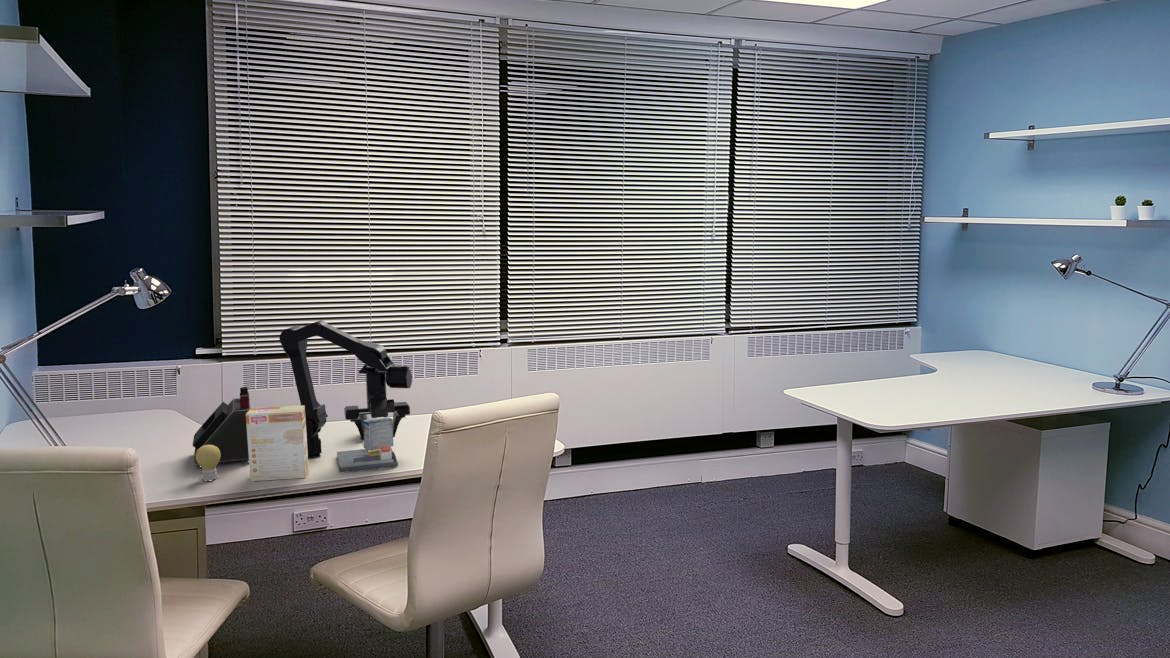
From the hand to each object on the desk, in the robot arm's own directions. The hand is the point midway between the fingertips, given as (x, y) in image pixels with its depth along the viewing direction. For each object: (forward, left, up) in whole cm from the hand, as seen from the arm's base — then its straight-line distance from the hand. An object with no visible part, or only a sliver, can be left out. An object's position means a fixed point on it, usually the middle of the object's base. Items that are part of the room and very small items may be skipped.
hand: (378, 438), depth 272 cm
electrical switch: (0, +25, -6) cm, 26 cm away
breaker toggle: (+1, -8, -4) cm, 9 cm away
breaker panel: (-4, -3, -6) cm, 8 cm away
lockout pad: (0, 0, -4) cm, 4 cm away
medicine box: (0, 0, -3) cm, 3 cm away
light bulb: (-47, -5, -6) cm, 48 cm away
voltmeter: (-44, +15, -6) cm, 47 cm away
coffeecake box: (-28, -8, -6) cm, 30 cm away
